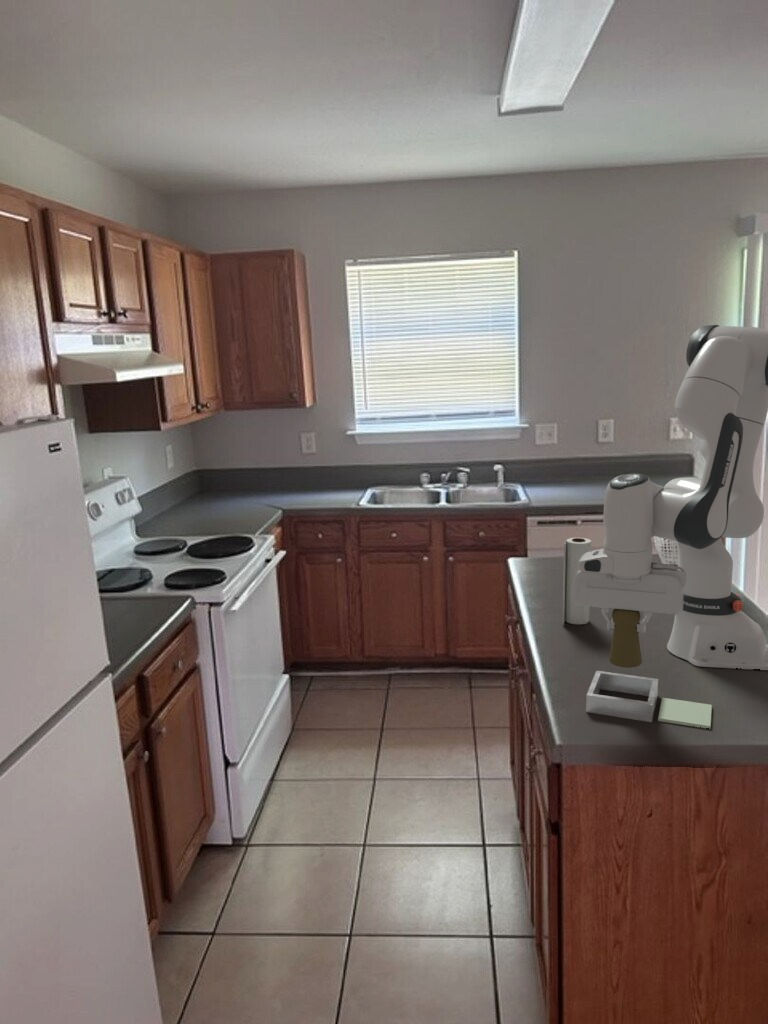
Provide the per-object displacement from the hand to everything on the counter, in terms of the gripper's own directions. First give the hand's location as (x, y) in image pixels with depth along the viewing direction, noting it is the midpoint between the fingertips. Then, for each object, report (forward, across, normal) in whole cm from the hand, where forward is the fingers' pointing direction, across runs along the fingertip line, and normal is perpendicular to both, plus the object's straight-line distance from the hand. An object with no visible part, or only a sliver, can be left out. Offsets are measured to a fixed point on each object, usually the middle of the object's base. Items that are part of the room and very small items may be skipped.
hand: (626, 630), depth 147 cm
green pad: (+15, -11, +1) cm, 19 cm away
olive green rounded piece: (+7, 0, 0) cm, 7 cm away
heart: (+17, -7, -71) cm, 73 cm away
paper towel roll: (+16, +18, -42) cm, 48 cm away
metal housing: (+15, 0, +1) cm, 15 cm away
